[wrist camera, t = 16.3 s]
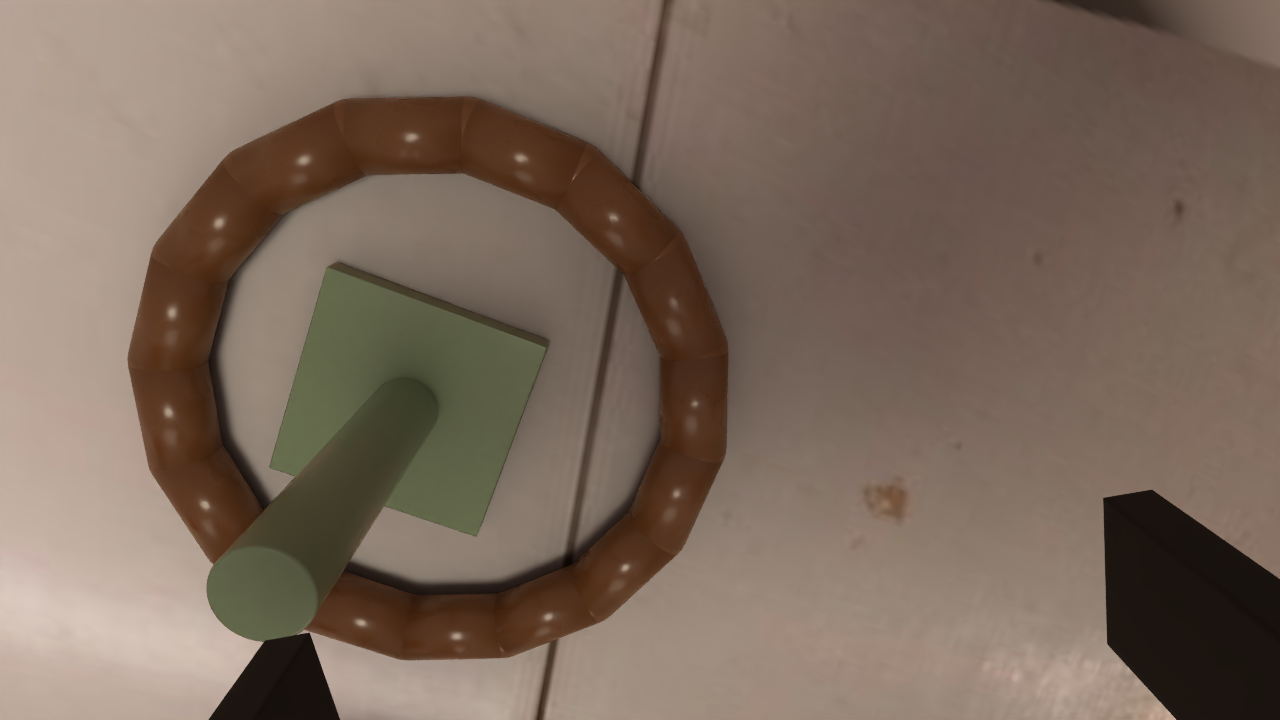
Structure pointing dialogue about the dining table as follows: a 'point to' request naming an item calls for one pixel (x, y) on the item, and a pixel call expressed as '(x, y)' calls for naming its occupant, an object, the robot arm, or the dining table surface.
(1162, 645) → the robot arm
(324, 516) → the post
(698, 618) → the dining table surface
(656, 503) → the ring
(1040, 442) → the dining table surface
